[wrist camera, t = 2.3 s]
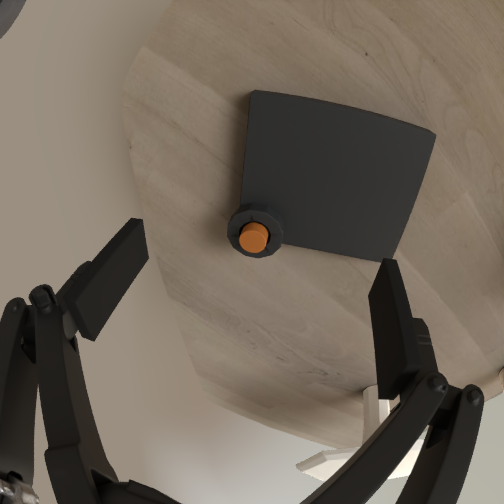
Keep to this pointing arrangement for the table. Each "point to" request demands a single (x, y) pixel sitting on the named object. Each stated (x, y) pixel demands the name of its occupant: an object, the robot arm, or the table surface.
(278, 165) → the scale
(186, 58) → the table surface
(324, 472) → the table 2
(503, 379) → the candle
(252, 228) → the scale button
